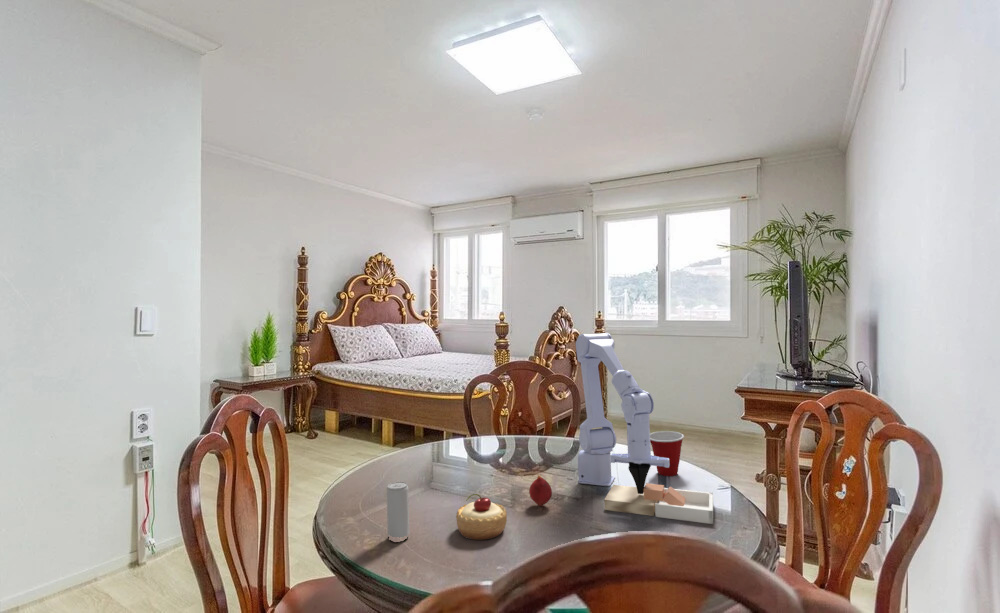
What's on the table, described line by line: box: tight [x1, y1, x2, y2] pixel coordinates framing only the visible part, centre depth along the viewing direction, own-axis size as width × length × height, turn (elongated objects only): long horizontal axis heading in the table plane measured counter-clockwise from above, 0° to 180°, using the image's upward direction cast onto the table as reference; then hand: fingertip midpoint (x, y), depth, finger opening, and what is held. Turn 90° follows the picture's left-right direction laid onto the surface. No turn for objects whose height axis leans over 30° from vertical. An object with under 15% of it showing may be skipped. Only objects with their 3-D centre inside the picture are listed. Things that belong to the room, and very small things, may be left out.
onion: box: [528, 474, 553, 507], centre depth 127 cm, size 6×6×8 cm
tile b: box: [663, 486, 686, 506], centre depth 122 cm, size 4×4×2 cm
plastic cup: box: [650, 430, 685, 477], centre depth 150 cm, size 11×11×12 cm
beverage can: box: [386, 481, 410, 538], centre depth 110 cm, size 5×5×12 cm
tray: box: [654, 487, 714, 525], centre depth 121 cm, size 13×13×3 cm
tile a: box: [644, 482, 665, 502], centre depth 124 cm, size 4×4×2 cm
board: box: [603, 484, 659, 517], centre depth 126 cm, size 12×12×2 cm
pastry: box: [455, 493, 508, 541], centre depth 112 cm, size 12×12×9 cm
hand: (640, 492), depth 125 cm, fingers closed
